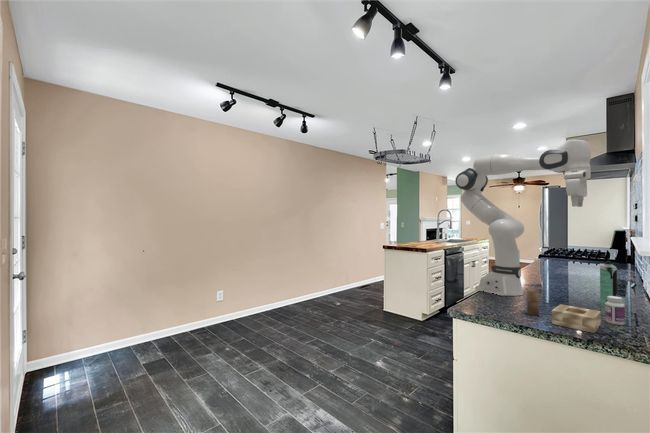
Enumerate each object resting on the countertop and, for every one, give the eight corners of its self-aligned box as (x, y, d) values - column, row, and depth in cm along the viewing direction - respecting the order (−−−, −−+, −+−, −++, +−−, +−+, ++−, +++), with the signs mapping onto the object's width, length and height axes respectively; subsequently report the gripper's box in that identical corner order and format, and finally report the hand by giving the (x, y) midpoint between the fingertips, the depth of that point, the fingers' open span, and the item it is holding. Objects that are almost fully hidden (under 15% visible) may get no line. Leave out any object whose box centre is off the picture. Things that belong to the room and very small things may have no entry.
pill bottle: (625, 322, 112) (625, 297, 112) (624, 326, 108) (624, 299, 108) (605, 319, 116) (605, 294, 116) (604, 322, 112) (604, 297, 112)
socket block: (551, 323, 112) (551, 310, 112) (560, 316, 119) (560, 304, 119) (594, 333, 103) (594, 318, 103) (600, 324, 110) (600, 311, 110)
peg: (525, 314, 123) (525, 290, 123) (529, 312, 125) (528, 288, 125) (537, 316, 120) (537, 291, 120) (540, 314, 122) (540, 290, 122)
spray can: (620, 308, 129) (620, 262, 129) (606, 307, 130) (605, 261, 130) (611, 304, 135) (610, 260, 135) (597, 303, 136) (596, 260, 136)
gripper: (573, 177, 141) (573, 207, 141) (562, 174, 128) (562, 206, 128) (591, 176, 136) (591, 206, 136) (581, 172, 123) (581, 206, 123)
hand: (577, 206), depth 132 cm, fingers open, 8 cm apart
